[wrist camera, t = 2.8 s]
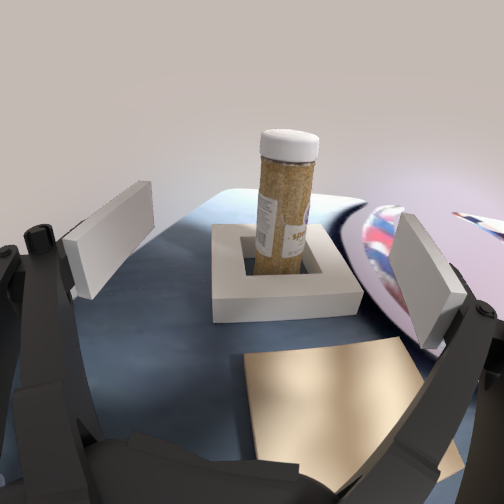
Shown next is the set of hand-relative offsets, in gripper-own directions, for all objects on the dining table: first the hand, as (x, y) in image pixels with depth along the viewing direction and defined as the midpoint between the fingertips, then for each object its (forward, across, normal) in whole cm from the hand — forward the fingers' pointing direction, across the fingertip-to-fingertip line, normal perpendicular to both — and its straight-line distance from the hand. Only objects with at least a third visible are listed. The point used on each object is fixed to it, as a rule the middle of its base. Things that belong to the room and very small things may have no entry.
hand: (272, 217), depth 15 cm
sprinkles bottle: (+10, 0, -11) cm, 15 cm away
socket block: (+10, 0, -10) cm, 15 cm away
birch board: (-5, +6, -10) cm, 13 cm away
